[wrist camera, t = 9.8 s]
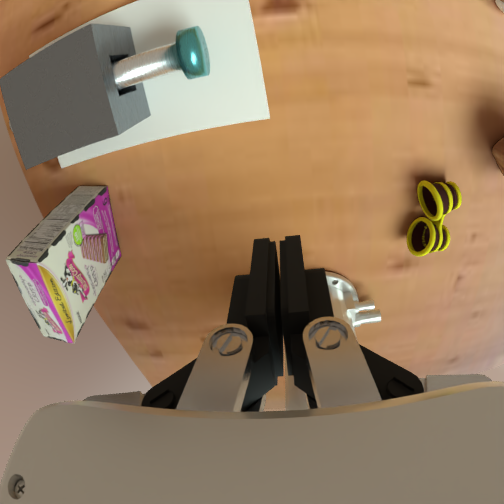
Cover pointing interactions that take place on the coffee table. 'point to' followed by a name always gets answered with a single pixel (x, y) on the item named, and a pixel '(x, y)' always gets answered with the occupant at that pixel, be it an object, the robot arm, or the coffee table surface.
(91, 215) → the candy bar box
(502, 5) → the white figurine
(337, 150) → the coffee table surface
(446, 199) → the opera glasses
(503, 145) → the cupcake
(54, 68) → the shaft housing
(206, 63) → the steel shaft
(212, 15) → the mounting board
